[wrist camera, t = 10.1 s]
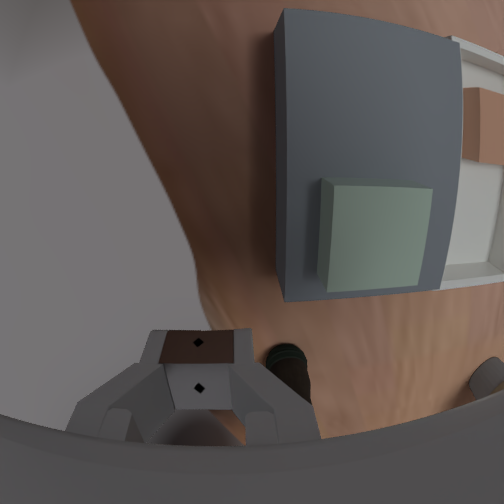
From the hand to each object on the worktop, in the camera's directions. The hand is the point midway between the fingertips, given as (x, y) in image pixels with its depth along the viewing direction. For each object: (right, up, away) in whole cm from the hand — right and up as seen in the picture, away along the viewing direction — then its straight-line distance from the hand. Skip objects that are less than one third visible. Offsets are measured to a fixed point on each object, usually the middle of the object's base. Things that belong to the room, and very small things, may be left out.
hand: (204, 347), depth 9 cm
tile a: (+22, +13, +9) cm, 27 cm away
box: (+21, +10, +13) cm, 27 cm away
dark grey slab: (+9, +10, +13) cm, 19 cm away
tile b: (+8, +4, +10) cm, 14 cm away
